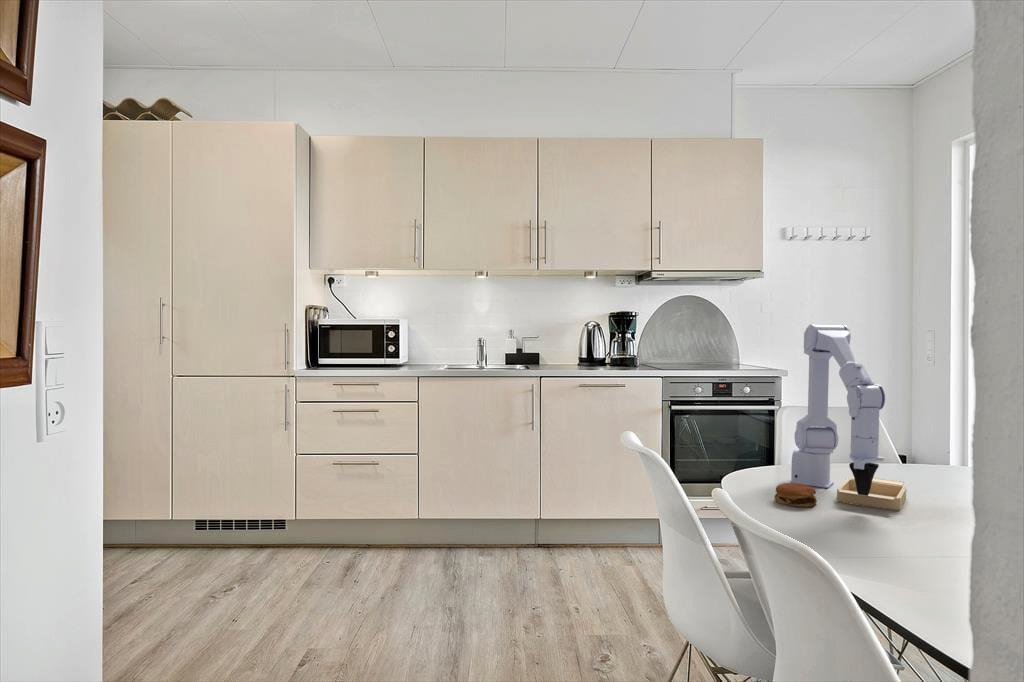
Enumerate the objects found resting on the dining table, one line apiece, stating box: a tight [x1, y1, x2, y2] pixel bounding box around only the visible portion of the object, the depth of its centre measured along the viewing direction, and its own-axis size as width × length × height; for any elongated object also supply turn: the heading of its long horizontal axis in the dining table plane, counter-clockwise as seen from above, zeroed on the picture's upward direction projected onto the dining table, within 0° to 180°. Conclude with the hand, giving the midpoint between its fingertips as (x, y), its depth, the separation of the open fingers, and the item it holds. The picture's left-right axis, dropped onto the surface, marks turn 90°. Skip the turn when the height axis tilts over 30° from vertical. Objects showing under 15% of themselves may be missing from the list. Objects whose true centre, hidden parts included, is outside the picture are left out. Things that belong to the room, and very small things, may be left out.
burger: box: [774, 482, 818, 508], centre depth 161 cm, size 10×9×5 cm
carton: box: [836, 478, 907, 512], centre depth 164 cm, size 14×14×3 cm
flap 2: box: [838, 490, 895, 501], centre depth 157 cm, size 12×1×4 cm
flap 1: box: [850, 475, 905, 486], centre depth 171 cm, size 12×1×4 cm
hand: (863, 494), depth 154 cm, fingers closed
